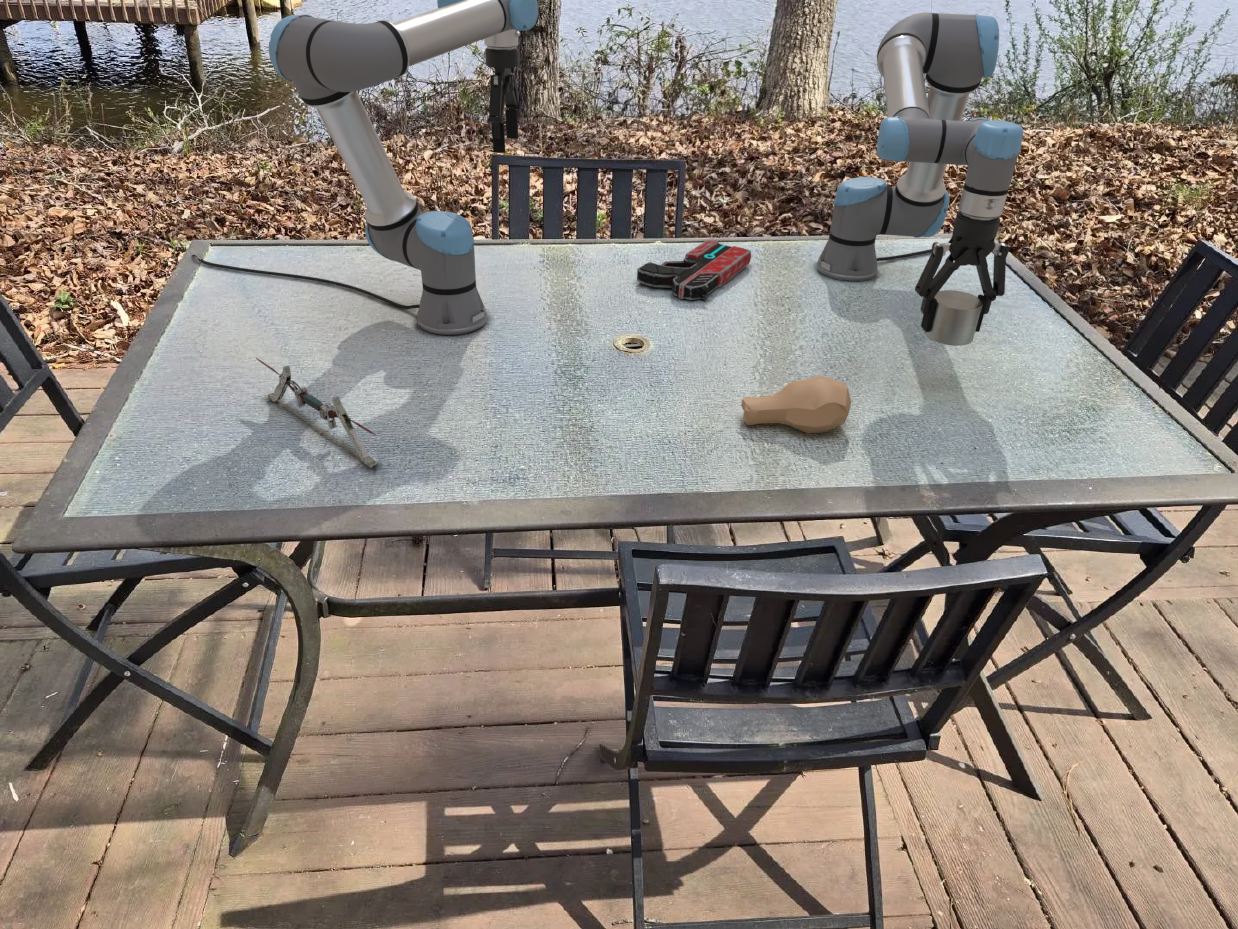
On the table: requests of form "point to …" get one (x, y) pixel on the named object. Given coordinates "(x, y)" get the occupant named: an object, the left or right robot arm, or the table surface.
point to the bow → (322, 411)
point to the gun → (697, 270)
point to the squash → (802, 405)
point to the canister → (955, 318)
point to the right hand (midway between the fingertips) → (949, 328)
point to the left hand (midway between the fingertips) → (506, 144)
